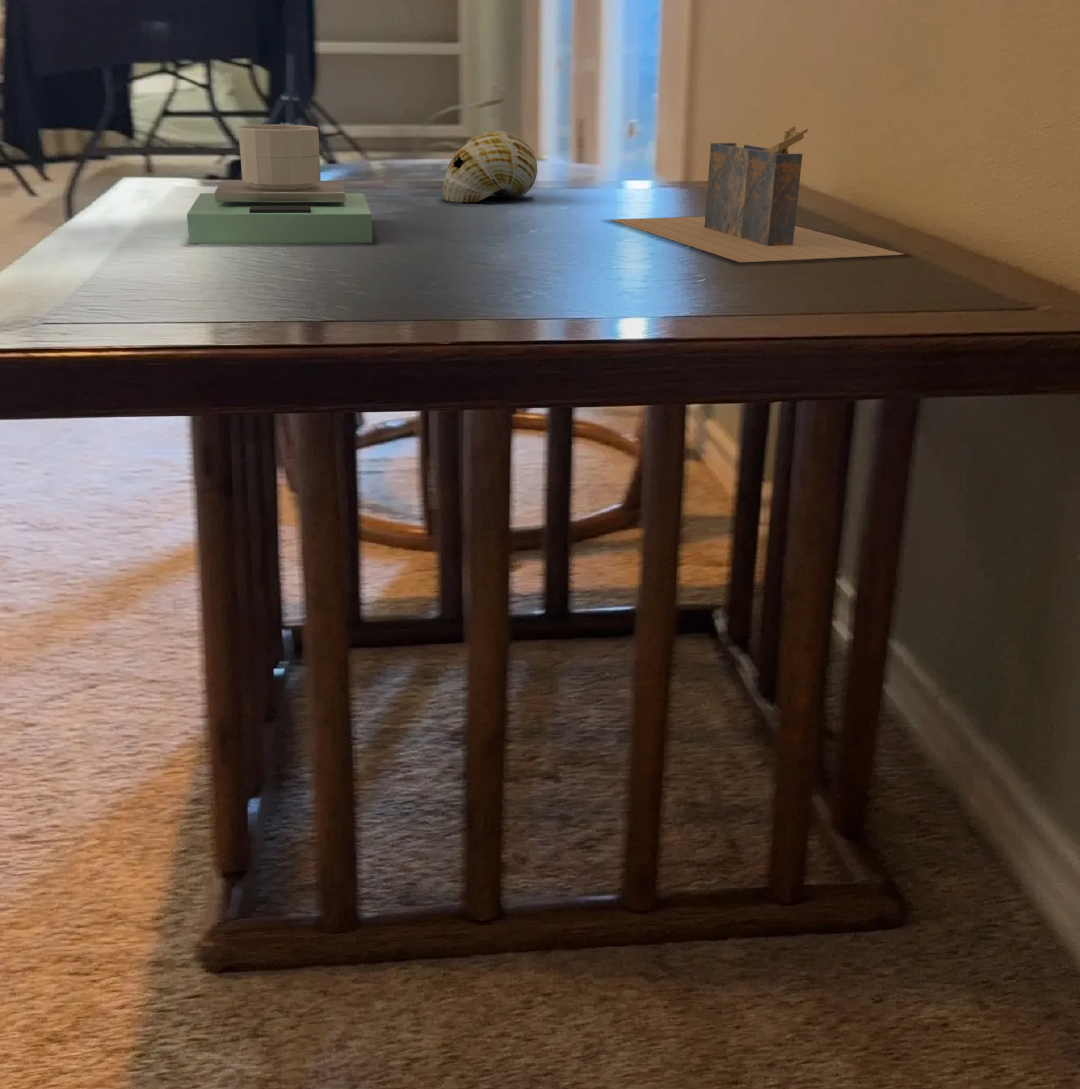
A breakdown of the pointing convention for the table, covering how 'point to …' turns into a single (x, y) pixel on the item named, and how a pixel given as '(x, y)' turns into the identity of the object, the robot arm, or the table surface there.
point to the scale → (279, 221)
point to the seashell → (490, 168)
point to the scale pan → (279, 193)
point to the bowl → (280, 156)
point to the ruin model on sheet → (754, 210)
